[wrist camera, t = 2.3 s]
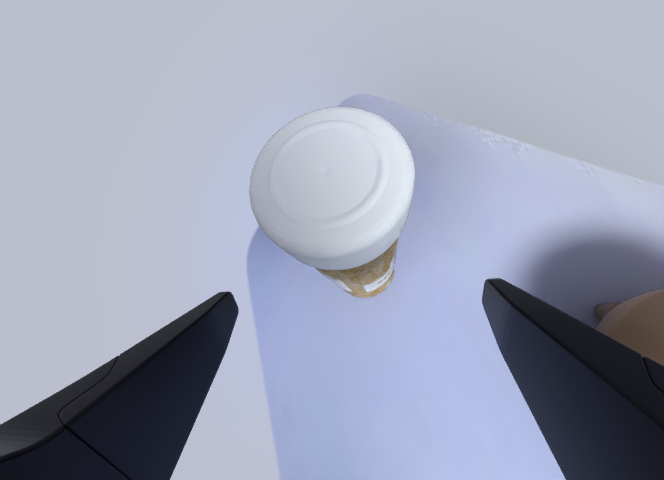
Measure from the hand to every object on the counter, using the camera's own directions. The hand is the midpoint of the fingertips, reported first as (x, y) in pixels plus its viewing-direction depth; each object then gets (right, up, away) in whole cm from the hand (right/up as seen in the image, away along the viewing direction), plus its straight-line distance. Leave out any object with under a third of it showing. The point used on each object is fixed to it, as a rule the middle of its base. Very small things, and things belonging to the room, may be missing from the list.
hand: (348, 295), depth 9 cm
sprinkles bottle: (+2, 0, +10) cm, 10 cm away
